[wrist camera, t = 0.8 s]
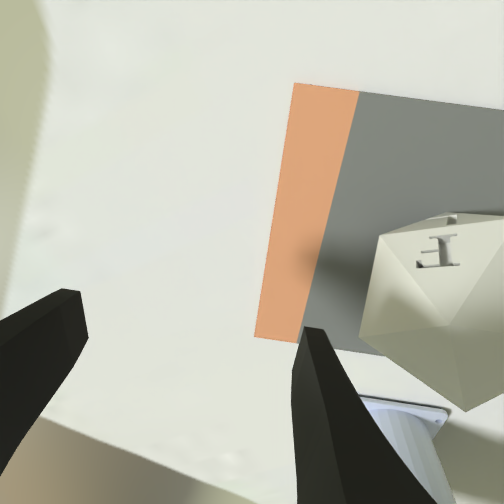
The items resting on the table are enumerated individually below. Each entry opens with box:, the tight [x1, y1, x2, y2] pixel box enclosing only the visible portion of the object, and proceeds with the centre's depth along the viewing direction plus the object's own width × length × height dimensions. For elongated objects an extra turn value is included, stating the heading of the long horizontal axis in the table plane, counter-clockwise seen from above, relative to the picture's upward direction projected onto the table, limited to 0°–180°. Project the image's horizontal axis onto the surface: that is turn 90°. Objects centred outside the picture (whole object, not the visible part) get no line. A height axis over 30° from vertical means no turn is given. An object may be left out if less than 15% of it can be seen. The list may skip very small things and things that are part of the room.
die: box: [359, 212, 504, 412], centre depth 16 cm, size 8×9×10 cm
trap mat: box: [254, 83, 504, 356], centre depth 19 cm, size 16×25×1 cm, turn 84°
